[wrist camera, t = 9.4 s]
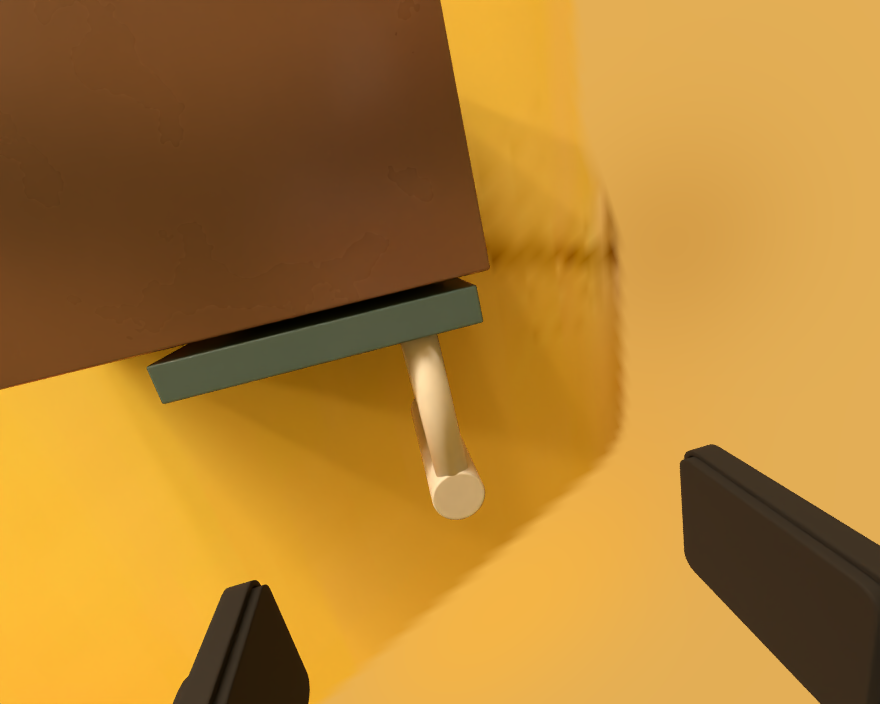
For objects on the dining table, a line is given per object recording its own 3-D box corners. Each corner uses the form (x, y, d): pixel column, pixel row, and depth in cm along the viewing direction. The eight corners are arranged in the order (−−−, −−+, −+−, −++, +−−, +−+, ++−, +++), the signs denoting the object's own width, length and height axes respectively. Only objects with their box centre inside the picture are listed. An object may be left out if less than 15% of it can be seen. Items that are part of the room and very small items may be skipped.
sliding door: (253, 306, 19) (145, 367, 10) (428, 264, 20) (476, 284, 11) (300, 437, 21) (245, 590, 12) (457, 395, 22) (520, 507, 13)
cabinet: (-8, 145, 16) (-536, 13, 7) (392, 67, 18) (416, -133, 8) (85, 339, 19) (-214, 442, 9) (434, 256, 20) (490, 269, 11)
